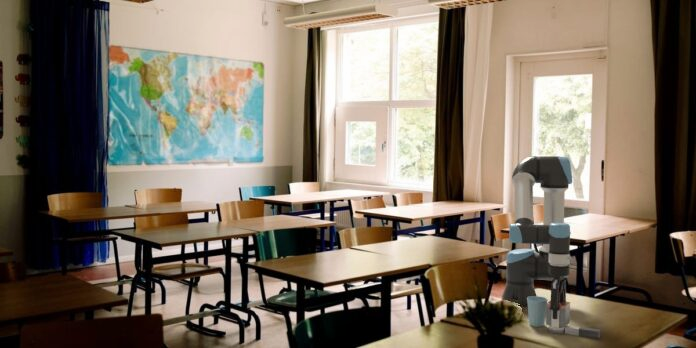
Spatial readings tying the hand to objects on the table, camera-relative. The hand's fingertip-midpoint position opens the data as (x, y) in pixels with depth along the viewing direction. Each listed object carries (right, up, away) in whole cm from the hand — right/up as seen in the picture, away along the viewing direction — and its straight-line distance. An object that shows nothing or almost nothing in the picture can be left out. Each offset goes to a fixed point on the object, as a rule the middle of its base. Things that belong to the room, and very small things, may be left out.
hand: (557, 324), depth 256 cm
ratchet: (+5, -3, -3) cm, 7 cm away
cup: (-5, -2, +9) cm, 11 cm away
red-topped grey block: (0, 0, 0) cm, 0 cm away
